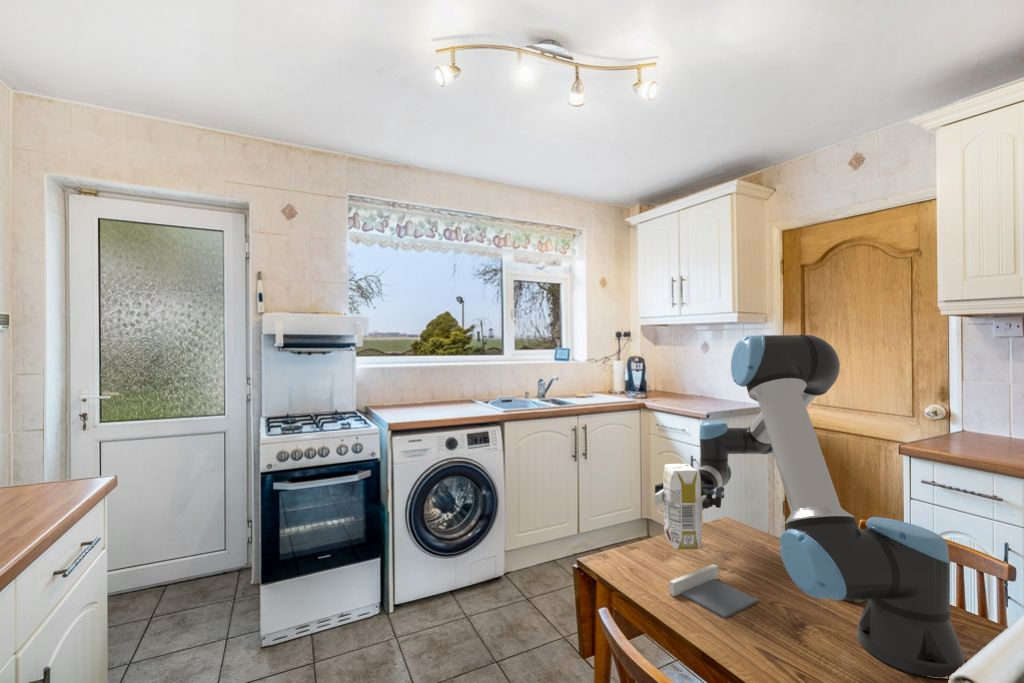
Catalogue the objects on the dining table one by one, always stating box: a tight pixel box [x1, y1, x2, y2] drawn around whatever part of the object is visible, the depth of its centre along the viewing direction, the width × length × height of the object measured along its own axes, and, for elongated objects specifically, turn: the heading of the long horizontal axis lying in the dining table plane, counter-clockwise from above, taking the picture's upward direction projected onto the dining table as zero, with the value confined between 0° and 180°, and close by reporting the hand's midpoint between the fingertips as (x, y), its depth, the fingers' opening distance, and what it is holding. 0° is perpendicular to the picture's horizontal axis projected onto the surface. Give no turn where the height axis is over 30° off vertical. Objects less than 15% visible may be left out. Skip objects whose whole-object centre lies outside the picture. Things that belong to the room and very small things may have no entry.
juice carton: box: [662, 463, 703, 550], centre depth 117 cm, size 8×9×19 cm
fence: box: [668, 563, 719, 597], centre depth 112 cm, size 1×16×3 cm, turn 121°
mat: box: [680, 579, 759, 619], centre depth 106 cm, size 11×12×1 cm
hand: (675, 504), depth 113 cm, fingers closed on juice carton, 9 cm apart
